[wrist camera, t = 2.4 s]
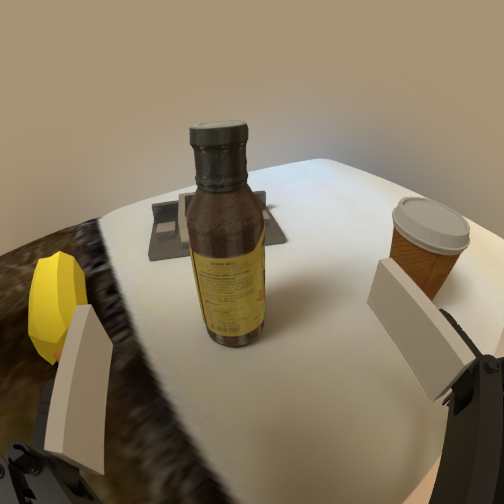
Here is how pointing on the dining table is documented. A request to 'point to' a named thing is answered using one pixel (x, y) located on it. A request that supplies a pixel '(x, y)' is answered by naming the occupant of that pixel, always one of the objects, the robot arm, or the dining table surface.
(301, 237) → the dining table surface
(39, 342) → the hot dog
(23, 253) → the dining table surface
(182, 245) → the bottle holder
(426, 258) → the disposable coffee cup
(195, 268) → the sauce bottle
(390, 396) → the dining table surface
